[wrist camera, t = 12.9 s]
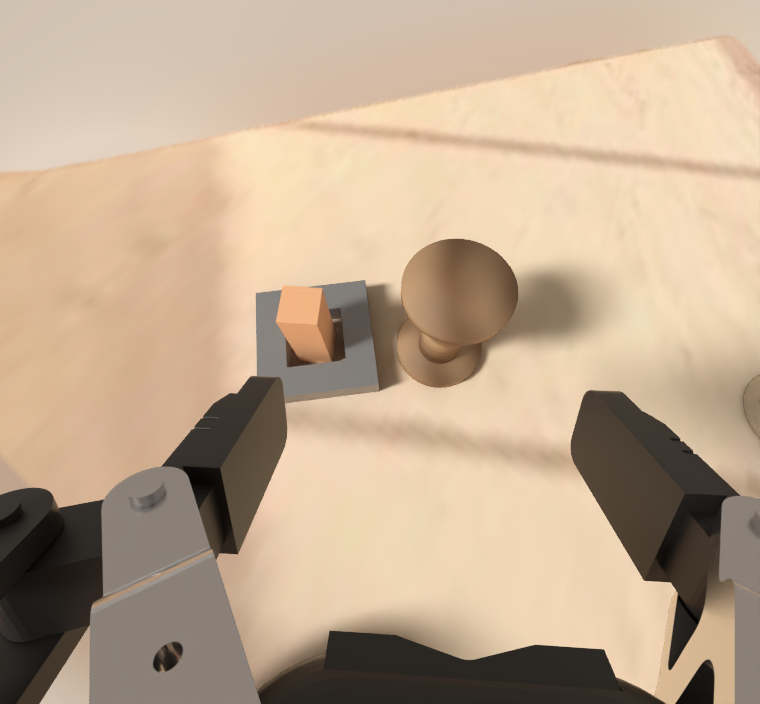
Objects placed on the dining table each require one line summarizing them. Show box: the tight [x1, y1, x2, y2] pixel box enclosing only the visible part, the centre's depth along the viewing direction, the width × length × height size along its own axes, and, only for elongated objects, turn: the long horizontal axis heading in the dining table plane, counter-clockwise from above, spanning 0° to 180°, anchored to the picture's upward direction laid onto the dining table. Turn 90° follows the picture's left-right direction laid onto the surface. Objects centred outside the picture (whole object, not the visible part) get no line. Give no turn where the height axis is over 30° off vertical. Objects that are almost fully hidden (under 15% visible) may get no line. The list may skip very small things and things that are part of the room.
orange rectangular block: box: [276, 286, 336, 363], centre depth 37 cm, size 4×4×10 cm
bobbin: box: [397, 239, 518, 388], centre depth 36 cm, size 9×9×13 cm
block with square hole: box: [256, 280, 379, 403], centre depth 41 cm, size 12×12×2 cm
